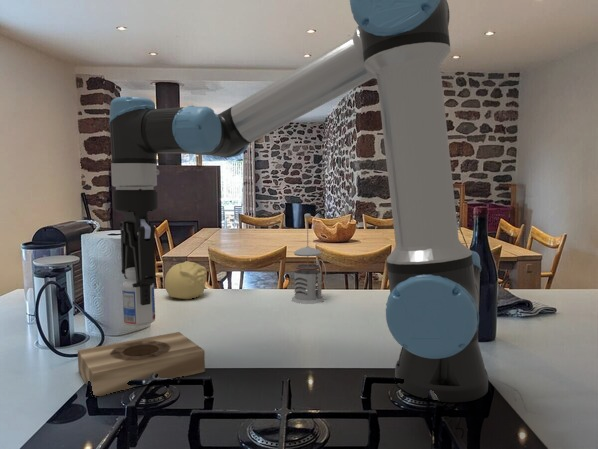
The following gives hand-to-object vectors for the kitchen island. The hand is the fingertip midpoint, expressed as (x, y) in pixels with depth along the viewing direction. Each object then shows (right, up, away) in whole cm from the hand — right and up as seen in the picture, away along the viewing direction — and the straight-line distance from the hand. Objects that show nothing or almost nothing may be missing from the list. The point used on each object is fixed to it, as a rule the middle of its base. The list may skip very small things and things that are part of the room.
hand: (139, 317), depth 88 cm
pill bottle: (0, -1, 0) cm, 1 cm away
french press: (+32, -5, +53) cm, 62 cm away
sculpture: (-5, -5, +58) cm, 58 cm away
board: (0, -10, +1) cm, 10 cm away
